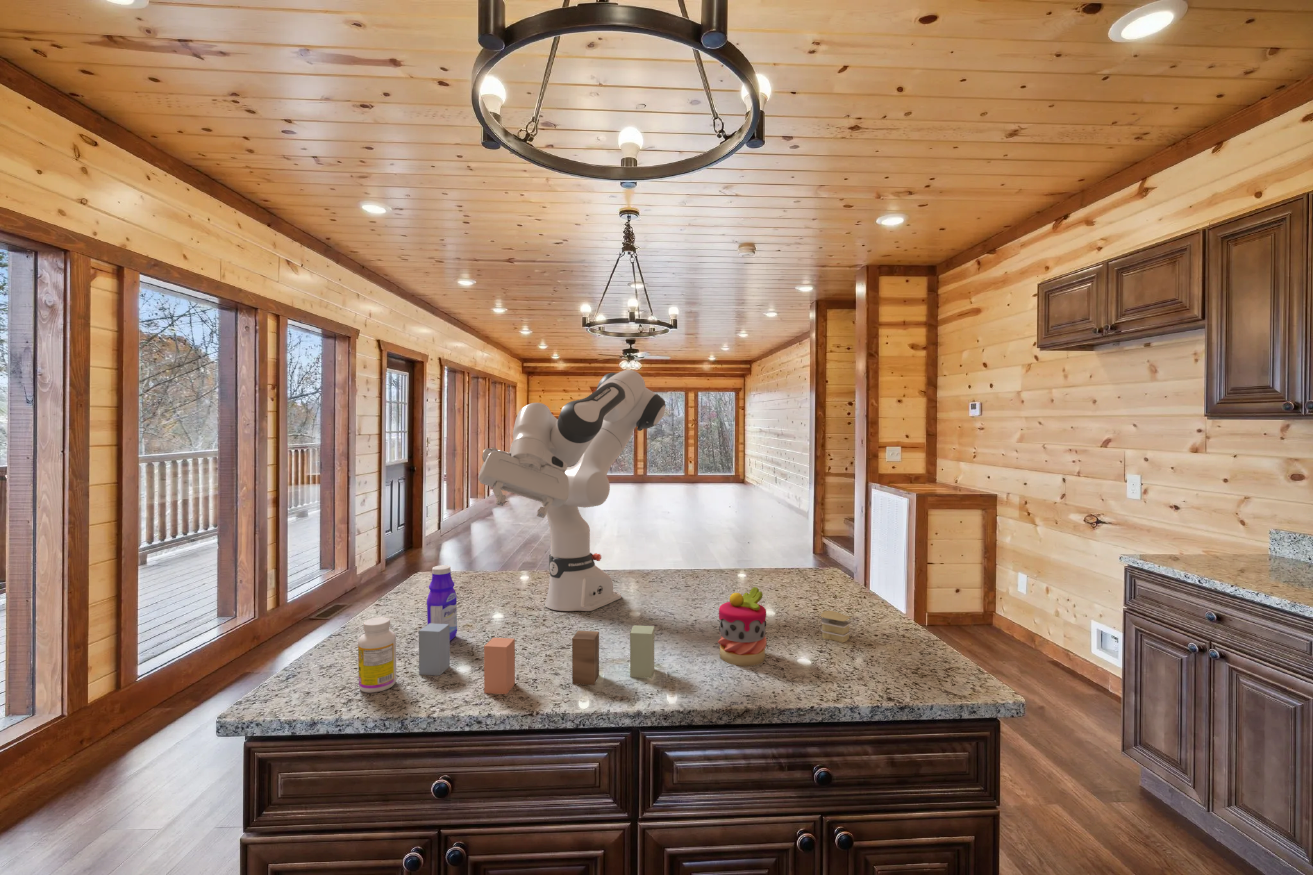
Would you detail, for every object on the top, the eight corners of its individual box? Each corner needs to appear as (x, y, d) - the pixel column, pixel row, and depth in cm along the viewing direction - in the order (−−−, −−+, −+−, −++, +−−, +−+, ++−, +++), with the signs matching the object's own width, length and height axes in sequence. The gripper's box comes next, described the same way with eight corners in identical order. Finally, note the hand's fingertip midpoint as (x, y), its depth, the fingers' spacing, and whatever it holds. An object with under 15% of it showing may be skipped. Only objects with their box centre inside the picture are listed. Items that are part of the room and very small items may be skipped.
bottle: (444, 646, 133) (444, 571, 132) (422, 644, 134) (421, 569, 134) (461, 635, 140) (460, 563, 140) (440, 633, 141) (439, 562, 141)
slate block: (429, 665, 123) (429, 623, 122) (449, 666, 122) (449, 624, 122) (419, 674, 118) (418, 630, 118) (439, 675, 118) (439, 631, 118)
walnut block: (577, 674, 118) (577, 630, 118) (599, 675, 118) (599, 631, 118) (572, 683, 114) (572, 638, 114) (594, 685, 113) (594, 639, 113)
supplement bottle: (367, 679, 116) (366, 615, 116) (401, 677, 116) (400, 614, 116) (352, 694, 109) (351, 627, 109) (388, 693, 110) (388, 626, 110)
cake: (736, 670, 120) (736, 598, 120) (709, 652, 130) (709, 586, 129) (776, 661, 125) (776, 592, 125) (747, 644, 134) (747, 580, 134)
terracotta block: (493, 682, 114) (493, 637, 114) (514, 683, 114) (514, 638, 114) (484, 692, 110) (484, 646, 110) (506, 694, 110) (506, 647, 109)
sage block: (633, 667, 121) (633, 625, 121) (654, 668, 121) (654, 626, 121) (630, 677, 117) (630, 632, 117) (651, 678, 117) (651, 633, 116)
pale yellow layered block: (862, 638, 139) (862, 615, 139) (845, 649, 132) (845, 625, 132) (824, 628, 146) (824, 606, 146) (806, 638, 139) (806, 615, 139)
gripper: (489, 437, 127) (479, 488, 118) (573, 466, 136) (570, 515, 127) (479, 453, 131) (468, 503, 122) (561, 480, 140) (557, 529, 131)
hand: (521, 510), depth 124 cm, fingers open, 8 cm apart
